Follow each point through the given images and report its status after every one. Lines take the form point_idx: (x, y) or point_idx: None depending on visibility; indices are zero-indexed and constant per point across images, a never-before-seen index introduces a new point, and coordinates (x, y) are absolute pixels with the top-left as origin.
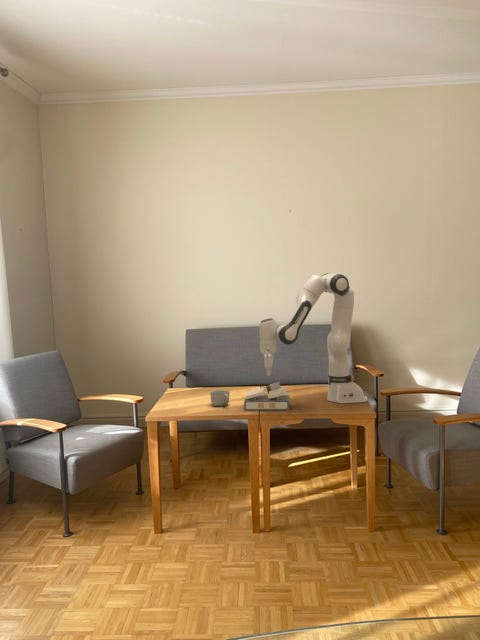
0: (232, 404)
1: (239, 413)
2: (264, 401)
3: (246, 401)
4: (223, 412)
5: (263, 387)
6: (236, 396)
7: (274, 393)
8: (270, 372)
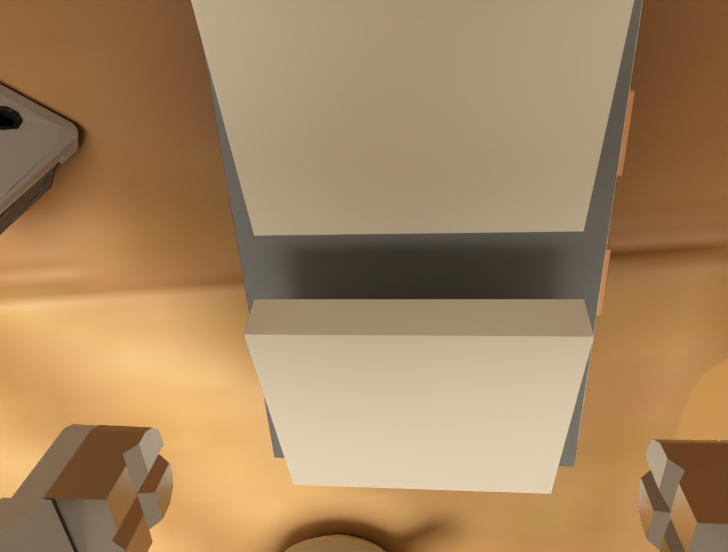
0: (313, 493)
1: (664, 425)
2: (604, 248)
3: (575, 443)
4: (599, 535)
5: (250, 348)
6: (18, 482)
7: (524, 136)
8: (708, 511)
